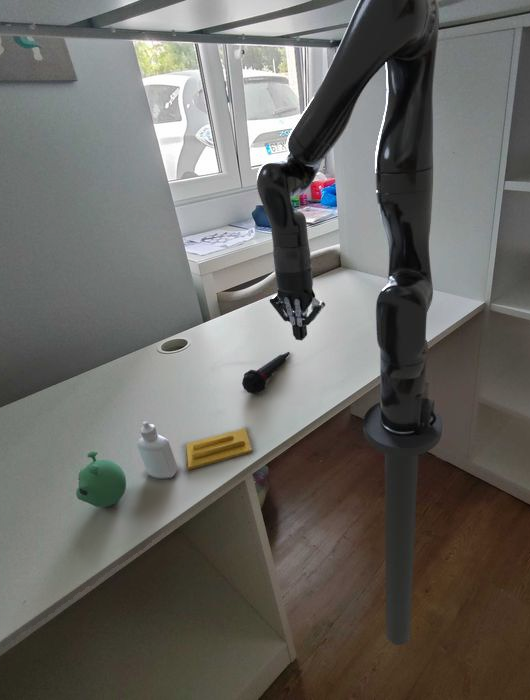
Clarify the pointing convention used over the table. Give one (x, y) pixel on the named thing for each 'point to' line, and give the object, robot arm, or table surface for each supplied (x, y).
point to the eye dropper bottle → (156, 453)
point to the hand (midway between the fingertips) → (300, 338)
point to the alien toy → (101, 482)
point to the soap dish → (218, 448)
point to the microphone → (262, 375)
